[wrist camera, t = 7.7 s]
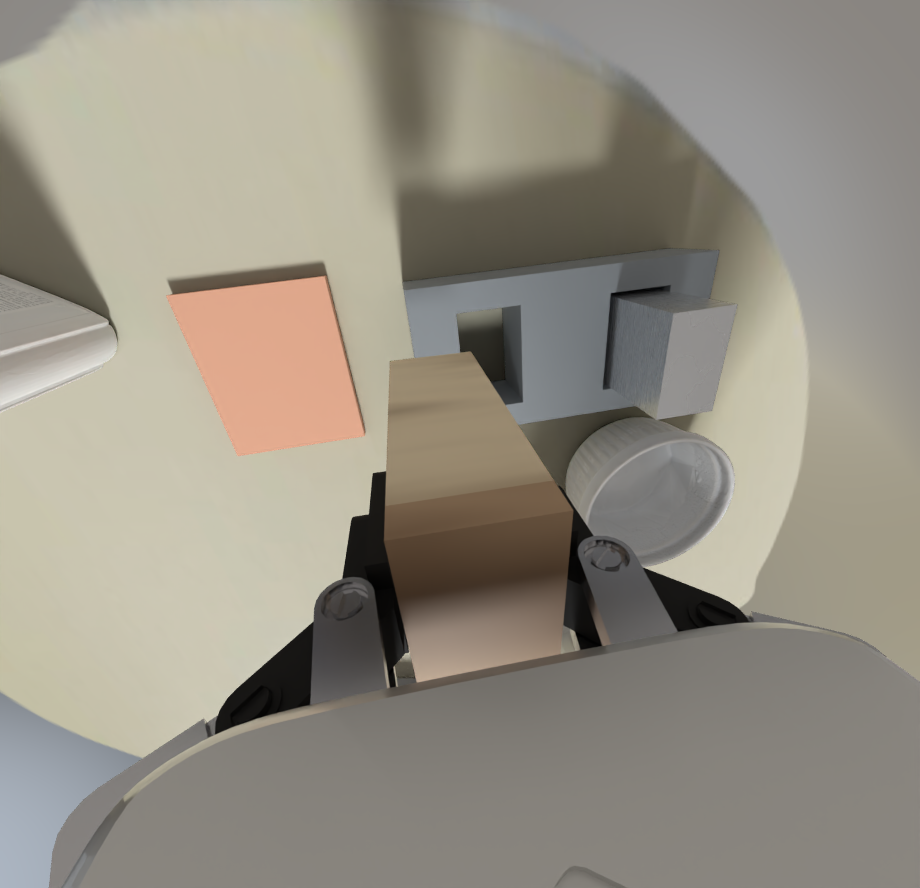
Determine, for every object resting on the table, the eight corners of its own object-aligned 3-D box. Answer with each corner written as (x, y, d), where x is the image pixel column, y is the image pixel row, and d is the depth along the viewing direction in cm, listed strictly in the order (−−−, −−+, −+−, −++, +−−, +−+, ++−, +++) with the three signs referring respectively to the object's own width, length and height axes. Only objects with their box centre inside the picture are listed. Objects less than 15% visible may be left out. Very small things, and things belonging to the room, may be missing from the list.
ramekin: (599, 384, 33) (645, 416, 27) (708, 428, 37) (770, 465, 31) (530, 503, 38) (555, 553, 32) (632, 530, 42) (672, 580, 36)
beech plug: (478, 467, 20) (557, 689, 10) (409, 477, 19) (424, 716, 10) (470, 351, 17) (572, 510, 7) (389, 361, 16) (383, 541, 7)
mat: (365, 431, 32) (364, 436, 31) (241, 451, 31) (237, 456, 30) (326, 275, 26) (324, 276, 25) (172, 294, 25) (166, 295, 25)
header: (651, 376, 33) (689, 397, 29) (423, 411, 32) (427, 439, 27) (670, 248, 29) (719, 250, 24) (402, 281, 27) (403, 290, 23)
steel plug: (617, 359, 32) (712, 410, 23) (577, 365, 32) (656, 419, 22) (625, 282, 29) (737, 304, 20) (581, 288, 29) (673, 313, 19)
